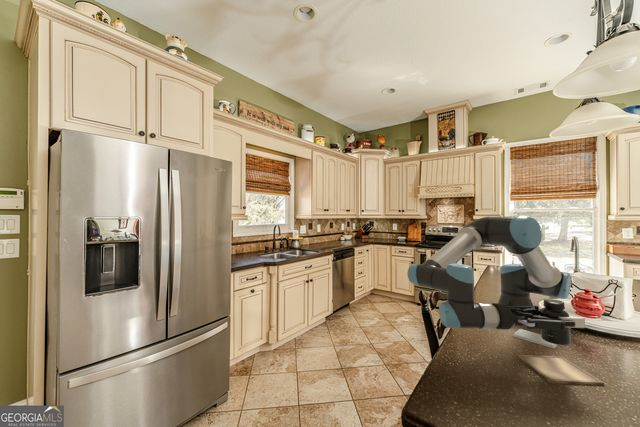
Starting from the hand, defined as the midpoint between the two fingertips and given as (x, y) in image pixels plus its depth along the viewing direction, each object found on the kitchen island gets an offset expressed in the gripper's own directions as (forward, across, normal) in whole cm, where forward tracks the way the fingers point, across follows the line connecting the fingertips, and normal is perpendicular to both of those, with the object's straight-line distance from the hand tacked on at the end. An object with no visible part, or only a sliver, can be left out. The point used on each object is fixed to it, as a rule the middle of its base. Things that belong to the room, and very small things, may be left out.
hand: (572, 318), depth 81 cm
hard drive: (+4, -21, -16) cm, 27 cm away
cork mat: (-5, 0, -16) cm, 17 cm away
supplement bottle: (-5, 0, -7) cm, 9 cm away
